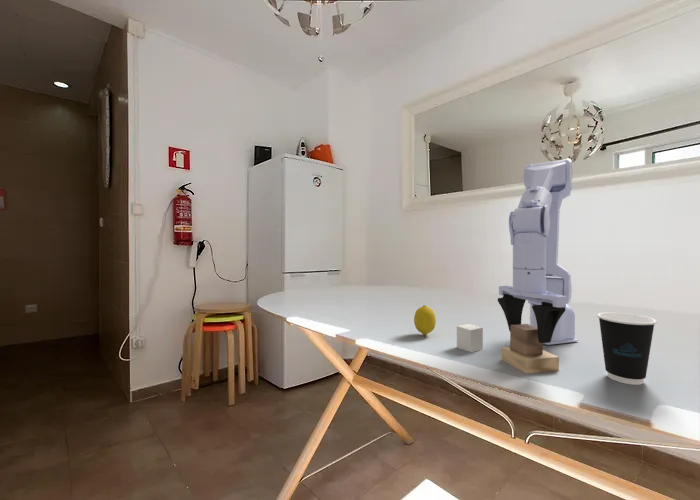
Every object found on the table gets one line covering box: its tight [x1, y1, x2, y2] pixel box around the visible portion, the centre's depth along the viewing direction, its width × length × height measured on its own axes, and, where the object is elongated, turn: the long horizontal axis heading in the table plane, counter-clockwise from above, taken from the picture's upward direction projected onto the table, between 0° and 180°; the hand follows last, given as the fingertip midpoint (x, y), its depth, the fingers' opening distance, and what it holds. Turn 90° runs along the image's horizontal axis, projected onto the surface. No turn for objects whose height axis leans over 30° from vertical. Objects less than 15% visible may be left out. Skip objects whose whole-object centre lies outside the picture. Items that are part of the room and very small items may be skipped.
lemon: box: [413, 304, 437, 336], centre depth 84 cm, size 6×6×8 cm
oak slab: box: [501, 346, 560, 374], centre depth 63 cm, size 7×7×3 cm
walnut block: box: [509, 323, 544, 356], centre depth 63 cm, size 4×4×5 cm
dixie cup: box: [596, 311, 657, 386], centre depth 56 cm, size 8×8×11 cm
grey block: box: [456, 323, 484, 353], centre depth 74 cm, size 4×4×5 cm
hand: (528, 336), depth 63 cm, fingers open, 7 cm apart
